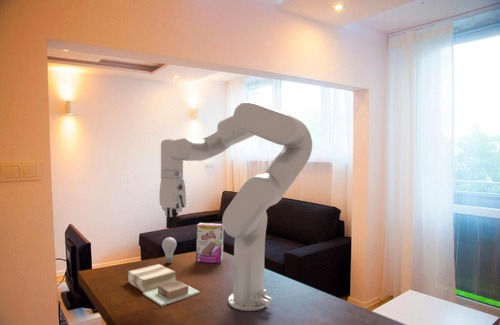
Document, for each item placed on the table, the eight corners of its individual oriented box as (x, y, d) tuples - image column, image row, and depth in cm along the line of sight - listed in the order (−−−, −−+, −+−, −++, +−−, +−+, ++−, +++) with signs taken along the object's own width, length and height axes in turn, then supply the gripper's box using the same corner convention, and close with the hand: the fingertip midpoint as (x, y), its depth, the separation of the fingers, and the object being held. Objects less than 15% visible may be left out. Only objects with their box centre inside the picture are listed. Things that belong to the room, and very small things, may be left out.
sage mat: (199, 293, 107) (199, 291, 107) (161, 306, 97) (161, 304, 97) (179, 283, 116) (179, 281, 116) (142, 294, 106) (142, 292, 106)
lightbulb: (161, 265, 134) (162, 239, 134) (161, 261, 140) (161, 236, 140) (176, 264, 135) (177, 238, 135) (176, 260, 141) (176, 235, 141)
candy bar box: (195, 262, 138) (196, 224, 138) (198, 259, 143) (199, 222, 143) (221, 264, 137) (221, 225, 137) (223, 260, 142) (223, 223, 142)
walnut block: (176, 280, 110) (176, 287, 110) (158, 285, 105) (157, 292, 105) (188, 286, 105) (188, 293, 105) (169, 292, 100) (169, 299, 100)
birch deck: (175, 282, 116) (175, 271, 116) (144, 292, 107) (144, 280, 107) (158, 274, 124) (158, 263, 124) (128, 282, 116) (128, 271, 115)
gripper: (193, 175, 110) (193, 229, 110) (169, 174, 120) (168, 223, 120) (175, 176, 104) (174, 233, 104) (150, 174, 114) (150, 226, 114)
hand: (171, 227), depth 112 cm, fingers closed
